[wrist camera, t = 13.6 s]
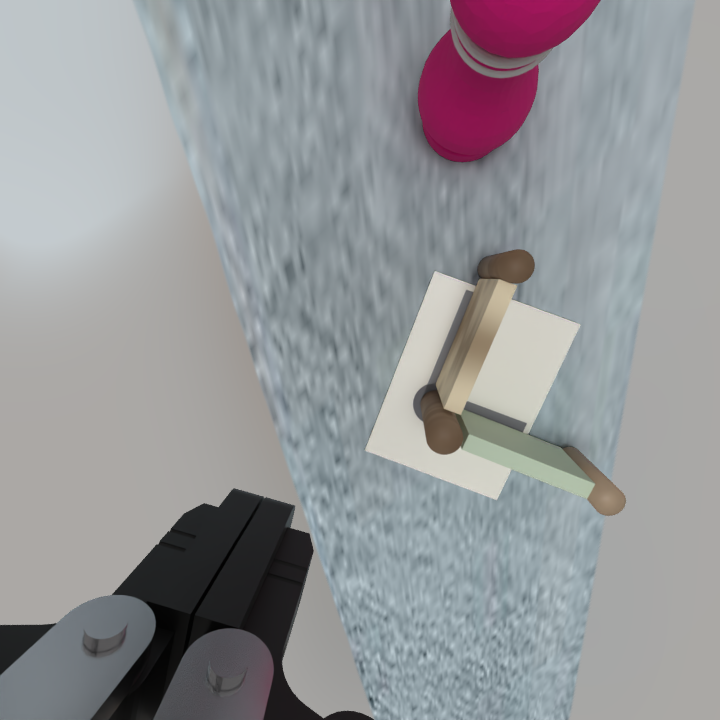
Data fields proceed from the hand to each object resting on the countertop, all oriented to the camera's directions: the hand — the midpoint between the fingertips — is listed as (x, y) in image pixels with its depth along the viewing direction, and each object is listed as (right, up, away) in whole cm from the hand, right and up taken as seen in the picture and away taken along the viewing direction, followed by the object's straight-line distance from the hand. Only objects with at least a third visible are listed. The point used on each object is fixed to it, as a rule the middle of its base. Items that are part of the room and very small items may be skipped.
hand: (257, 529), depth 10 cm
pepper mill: (+10, +22, +21) cm, 32 cm away
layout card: (+11, +2, +25) cm, 27 cm away
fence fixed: (+11, +6, +24) cm, 27 cm away
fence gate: (+15, -2, +24) cm, 29 cm away
